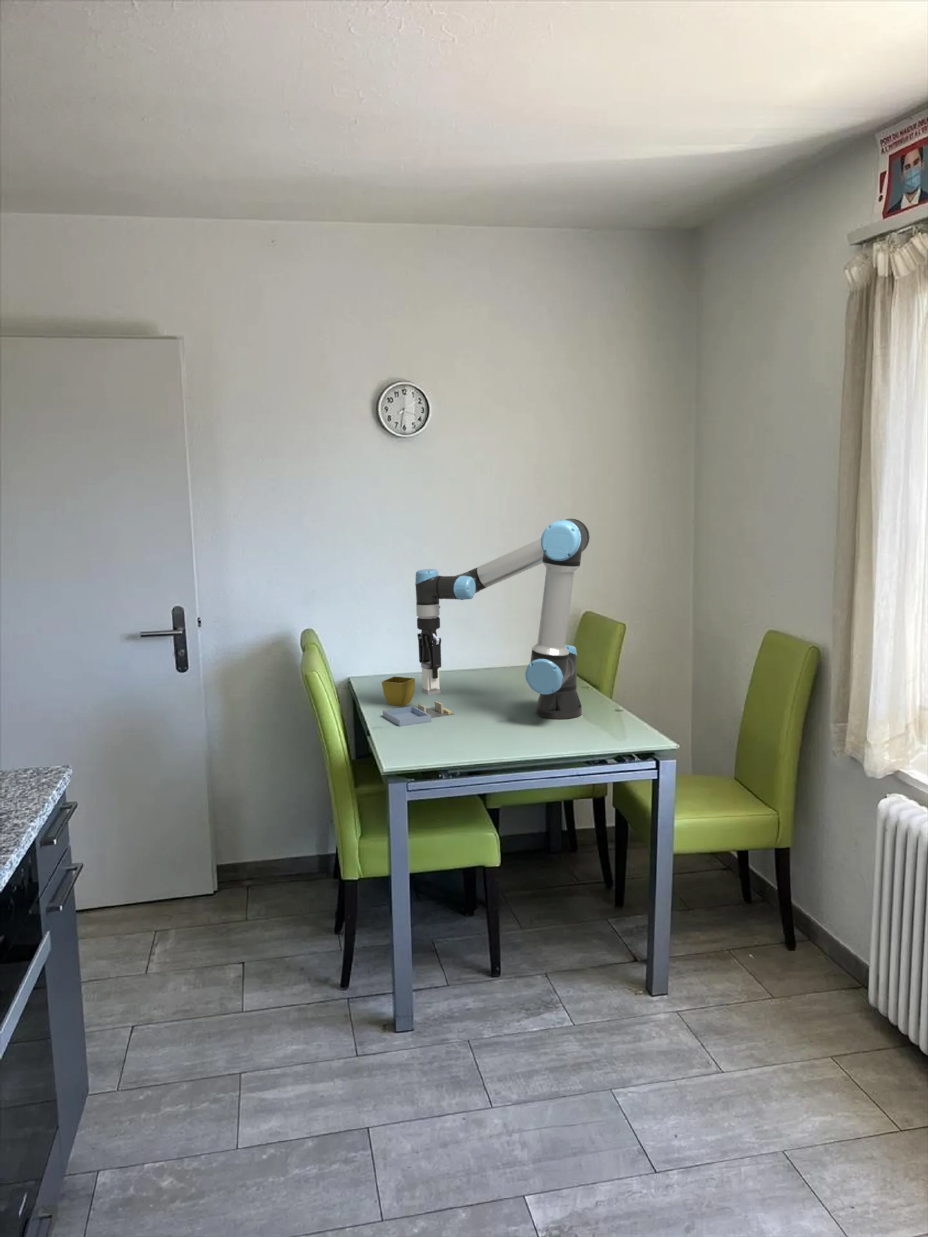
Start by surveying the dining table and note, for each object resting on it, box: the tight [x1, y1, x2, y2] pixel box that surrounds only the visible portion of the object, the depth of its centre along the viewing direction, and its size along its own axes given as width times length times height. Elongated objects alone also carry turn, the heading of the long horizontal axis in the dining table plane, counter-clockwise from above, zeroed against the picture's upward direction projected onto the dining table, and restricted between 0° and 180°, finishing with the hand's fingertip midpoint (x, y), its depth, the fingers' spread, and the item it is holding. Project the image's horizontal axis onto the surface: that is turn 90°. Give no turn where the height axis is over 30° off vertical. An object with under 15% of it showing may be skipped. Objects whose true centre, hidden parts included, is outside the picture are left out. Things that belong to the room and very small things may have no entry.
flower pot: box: [381, 676, 416, 707], centre depth 315 cm, size 9×9×9 cm
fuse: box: [420, 662, 441, 696], centre depth 301 cm, size 4×4×10 cm
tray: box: [382, 705, 432, 727], centre depth 295 cm, size 14×11×2 cm
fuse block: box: [417, 700, 455, 719], centre depth 303 cm, size 12×10×4 cm
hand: (430, 686), depth 301 cm, fingers closed on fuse, 4 cm apart
